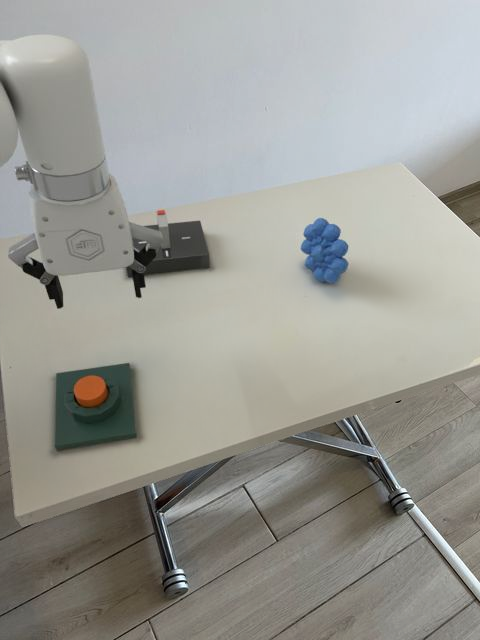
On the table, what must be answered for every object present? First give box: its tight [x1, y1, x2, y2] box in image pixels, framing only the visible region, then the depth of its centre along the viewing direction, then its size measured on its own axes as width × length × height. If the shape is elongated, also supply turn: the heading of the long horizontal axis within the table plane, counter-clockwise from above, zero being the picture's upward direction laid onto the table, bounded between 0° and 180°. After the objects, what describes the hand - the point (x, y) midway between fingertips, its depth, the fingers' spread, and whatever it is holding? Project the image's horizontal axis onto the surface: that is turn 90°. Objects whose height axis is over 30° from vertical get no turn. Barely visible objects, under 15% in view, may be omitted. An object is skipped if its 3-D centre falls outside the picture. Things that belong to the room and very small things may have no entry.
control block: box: [54, 362, 138, 452], centre depth 71 cm, size 10×12×3 cm
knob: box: [155, 209, 170, 249], centre depth 90 cm, size 5×2×5 cm, turn 13°
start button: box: [74, 376, 108, 408], centre depth 69 cm, size 4×4×2 cm
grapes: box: [300, 217, 349, 284], centre depth 87 cm, size 12×7×12 cm, turn 29°
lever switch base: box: [125, 219, 211, 278], centre depth 93 cm, size 14×10×3 cm
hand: (99, 295), depth 68 cm, fingers open, 9 cm apart
